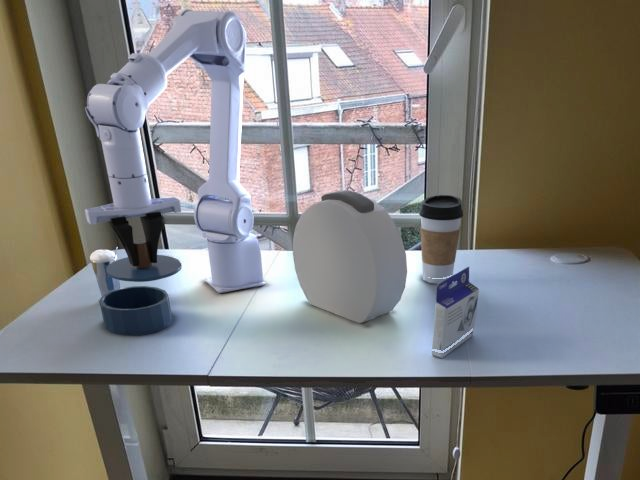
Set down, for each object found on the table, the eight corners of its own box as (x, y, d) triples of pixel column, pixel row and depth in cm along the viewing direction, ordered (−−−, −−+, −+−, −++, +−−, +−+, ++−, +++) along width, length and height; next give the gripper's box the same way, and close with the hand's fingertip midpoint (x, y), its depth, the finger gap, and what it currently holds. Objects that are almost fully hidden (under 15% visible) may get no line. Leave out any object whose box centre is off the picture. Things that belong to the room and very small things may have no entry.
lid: (151, 256, 128) (145, 226, 125) (197, 270, 123) (193, 239, 120) (92, 274, 121) (85, 242, 118) (138, 290, 115) (132, 258, 112)
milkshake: (122, 306, 133) (110, 250, 127) (95, 304, 134) (82, 248, 128) (134, 298, 136) (123, 243, 130) (107, 295, 137) (95, 241, 131)
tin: (145, 305, 133) (141, 281, 131) (185, 321, 128) (181, 296, 125) (92, 323, 126) (86, 298, 124) (131, 341, 121) (126, 315, 118)
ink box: (443, 360, 117) (448, 288, 110) (430, 356, 118) (434, 285, 111) (475, 335, 124) (481, 267, 118) (463, 332, 125) (468, 265, 118)
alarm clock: (406, 318, 130) (409, 200, 118) (377, 330, 126) (378, 209, 114) (323, 288, 142) (320, 178, 130) (294, 298, 137) (287, 185, 125)
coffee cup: (465, 276, 148) (472, 198, 139) (445, 289, 142) (450, 208, 133) (429, 269, 151) (433, 192, 142) (408, 280, 146) (411, 201, 137)
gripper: (164, 164, 119) (177, 249, 127) (72, 174, 112) (92, 263, 120) (179, 172, 114) (192, 260, 122) (84, 184, 107) (104, 276, 116)
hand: (143, 263), depth 121 cm, fingers closed on lid, 2 cm apart
